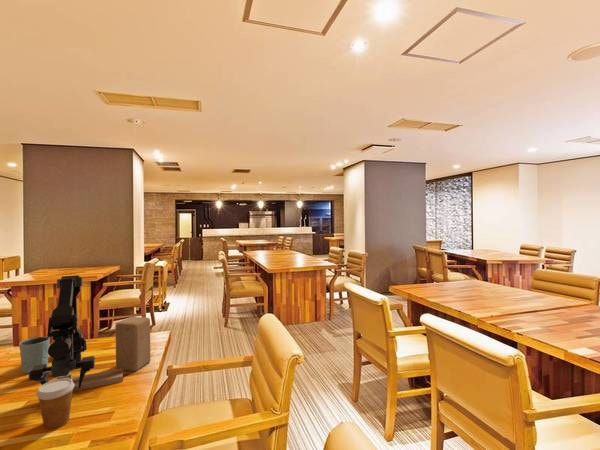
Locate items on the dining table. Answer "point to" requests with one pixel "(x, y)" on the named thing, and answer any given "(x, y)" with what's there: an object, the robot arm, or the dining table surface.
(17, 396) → the dining table surface
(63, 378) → the block
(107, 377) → the walnut board
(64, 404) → the disposable coffee cup
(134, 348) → the wooden block
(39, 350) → the grey embossed cup
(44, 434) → the dining table surface
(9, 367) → the dining table surface
